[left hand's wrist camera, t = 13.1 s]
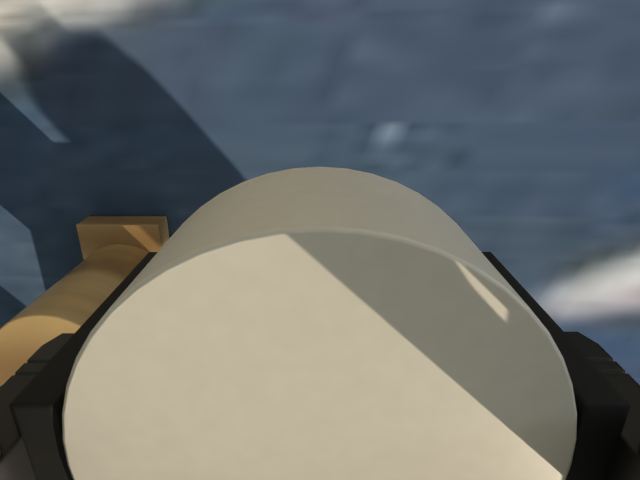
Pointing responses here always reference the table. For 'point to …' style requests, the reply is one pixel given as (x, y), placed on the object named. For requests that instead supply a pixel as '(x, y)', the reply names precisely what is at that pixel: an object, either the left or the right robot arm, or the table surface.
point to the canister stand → (81, 284)
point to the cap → (319, 349)
